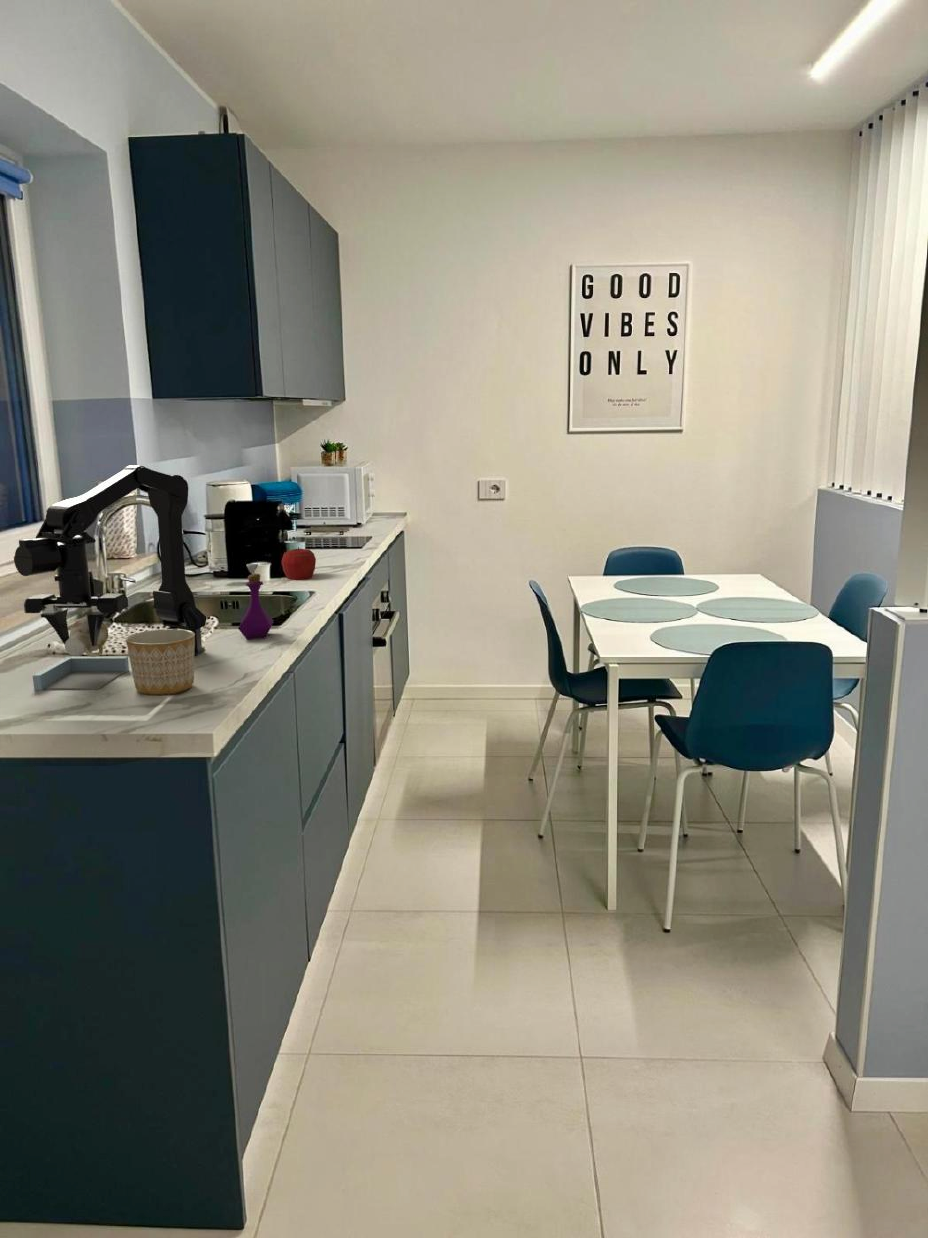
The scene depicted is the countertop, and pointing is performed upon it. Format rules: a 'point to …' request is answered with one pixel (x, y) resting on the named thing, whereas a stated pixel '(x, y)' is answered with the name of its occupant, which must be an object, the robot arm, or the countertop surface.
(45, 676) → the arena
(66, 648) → the mug
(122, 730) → the countertop surface
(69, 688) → the mat
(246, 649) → the countertop surface
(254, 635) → the perfume bottle
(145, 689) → the planter
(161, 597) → the robot arm
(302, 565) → the apple
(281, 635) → the countertop surface
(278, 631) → the countertop surface
